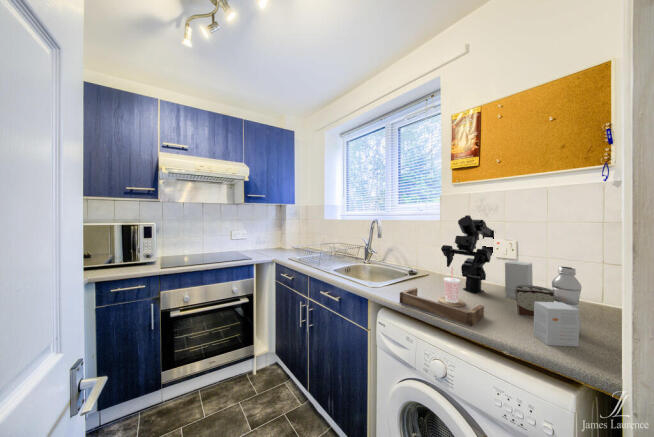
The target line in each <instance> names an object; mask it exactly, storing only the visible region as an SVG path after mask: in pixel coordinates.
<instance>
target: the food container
mask: <svg viewBox="0 0 654 437" xmlns="http://www.w3.org/2000/svg"><path fill="white" fill-rule="evenodd" d="M513 292H514V293H516V299H515V300H516V301H515V302H516V308H517V309H516V310H517V316H519V317H527V318H528V317H529V318H534V302H554V294H553V289H552V288H548V287H543V286H538V285H534V284H533V285H516V286H515V287H514V291H513Z"/></svg>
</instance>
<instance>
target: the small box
mask: <svg viewBox="0 0 654 437" xmlns="http://www.w3.org/2000/svg"><path fill="white" fill-rule="evenodd" d="M578 309H579V308H578ZM578 309H576V308H574V307H572V306H569V305H567V304H565V303H562V302H534V317H533V336H534V337H536V338H537V340H540V341H541V342H543V343H544V344H545V345H548V346H554V347H555V346H557V347H560V346H561V347H575V348H576V347H579V345H580V332H579V319H580V309H579V310H578Z"/></svg>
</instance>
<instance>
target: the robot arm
mask: <svg viewBox="0 0 654 437" xmlns="http://www.w3.org/2000/svg"><path fill="white" fill-rule="evenodd" d="M457 225H458V226H459V229H460V231H461V233H462V234H463V235H455V238H454V244H456V248H453V246H452V245H446V244H443V245H441V248H440V249H441V250H440V251H441V252H442V254H443V256H445V258H446V267H447V268H449V267H450V266H451V264H452V262H453V260H454V257H455V255H460V256H461V255H462V256H466V257H467V258H466V260H463V261H464V262H463V263H462V264H461V266H460V269H461V270H460V271H461V277H464V278H465V287H463V288H462V290H463V291H468V292H469V293H473V294H478V293H479V294H480V293H484V292H485V290H484V289H482V281H486V280H487V273H486V271H485V269H484V265H485V264H486V263H490V262H491V258H492V256H493V255H492V253H493V247H486V246H482V248H477V246H476V245H477V242H478V241H480V235H481V236H482V239H484V240H485V238H491V239H494V231H495V230H493V229H492V228H490V227H488V226H487V223H486V221H485V220H484V219H473V218H472V216H471V215H470V214H468V215H464V216H463V217H461V218H460V219H458V221H457ZM474 250H476V251H474ZM471 257H473V258H471Z"/></svg>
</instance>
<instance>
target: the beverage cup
mask: <svg viewBox="0 0 654 437" xmlns="http://www.w3.org/2000/svg"><path fill="white" fill-rule="evenodd" d="M453 274H454V267H453V266H452V267H451V277H447V276H446V277H444V278H443V281H444V295H445V296H444V297H445V300H446V301H447V302H450V303H457V302H458V299H459V293H460V283H461V279H459V278H456V277H454V276H453Z"/></svg>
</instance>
